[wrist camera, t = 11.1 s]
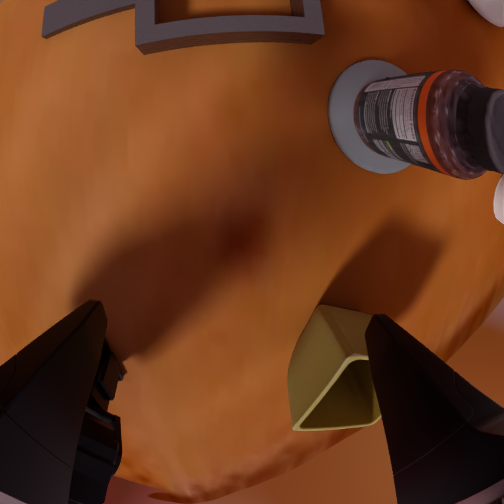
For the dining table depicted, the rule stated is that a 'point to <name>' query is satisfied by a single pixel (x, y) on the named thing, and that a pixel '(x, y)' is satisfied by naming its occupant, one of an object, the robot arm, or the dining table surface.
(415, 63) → the dining table surface
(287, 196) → the dining table surface
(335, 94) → the coaster
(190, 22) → the square pan with handle
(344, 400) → the flower pot
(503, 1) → the flower in vase
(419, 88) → the supplement bottle
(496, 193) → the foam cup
